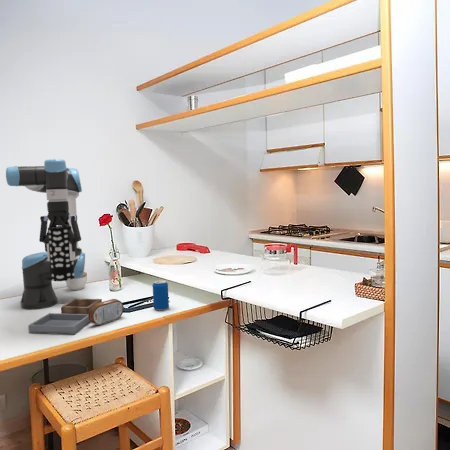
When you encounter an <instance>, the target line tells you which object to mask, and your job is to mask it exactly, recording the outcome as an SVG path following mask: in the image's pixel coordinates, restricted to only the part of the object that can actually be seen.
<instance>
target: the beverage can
mask: <svg viewBox="0 0 450 450" xmlns="http://www.w3.org/2000/svg"><path fill="white" fill-rule="evenodd" d="M152 283H153V284H152V299H153V300H152V302H153V309H154V310H155V311H158V312H161V311H166V310H167V309H169V307H170V304H169V299H170V298H169V283H168V281H167V280H165V279H158V280H157V279H156V280H153V282H152Z"/></svg>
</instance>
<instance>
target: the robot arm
mask: <svg viewBox="0 0 450 450" xmlns="http://www.w3.org/2000/svg"><path fill="white" fill-rule="evenodd" d="M5 178H6V184H7V185H8V186H10V187H25V188H26V189H27V190H30V191H32V192H37V193H42V194H43V193H44V194H46V200H47V203H46V207H47V209H46V211H47V212H48V213H47V215H42V216H40V218H39V219H40V230H39V231H40V232H39V242H40V243H42V244H43V243H44V251H42V252H36V253H32V254H31V253H30V254H29V255H26V256H24V257H23V258H22V259H21V270H22V277H23V279H22V281H23V292H22V297H21V299H20V307H21V308H22V309H24V310H25V309H26V310H40V309H45V308H49V307H52V306H54V305H57V303H58V297H57V296H58V295H56V292H55V290H54V288H53V284H52V283H53V281H52V280H51V267H50V253H49V240H48V227H49V228H52V227H56V226H62V227H70V226H71V230H68V237H69V239H70V241H71V243H70V244H69V250H70V261H73V263H74V279H76V278H81V277H82V276H83V274H84V272H85V266H86V253H85V252H83V249H82V248H81V247H80V246H79V242H81V240H82V237H81V232H80V229H79V225H78V214H77V200H76V199H77V198H78V197H79V196H80V193H82V191H83V189H82V183H81V178H80V174H79V170H78V169H77V168H71V167H70V168H69V167H67V164H66V160H64V159H60V158H58V159H57V158H54V159H53V158H52V159H46V160H44V165H43V166H42V165H38V166H37V165H35V166H34V165H33V166H17V165H15V166H7V167H6V169H5ZM48 221H50V222H49V225H48Z"/></svg>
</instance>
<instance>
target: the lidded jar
mask: <svg viewBox="0 0 450 450" xmlns="http://www.w3.org/2000/svg"><path fill="white" fill-rule="evenodd" d="M87 274H88V273H87V272H86V271H84V274H83V276H82V277H81V278H76V279H71V280H67V281H65V284H66V286H67V288H68V289H70V290H71V291H79V290H80V289H81V290H82V289H84V287H85V286H86V284H87V281H88V275H87Z"/></svg>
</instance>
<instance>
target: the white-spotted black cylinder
mask: <svg viewBox="0 0 450 450" xmlns="http://www.w3.org/2000/svg"><path fill="white" fill-rule="evenodd" d="M68 230H71V226H70V227H62V226H58V225H57V226H56V227H52V228H49V226H47V232H48V240H49V253H50V267H51V280H52V282H66V281H67V280H71V279H74V263H73V261H70V250H69V244H70V243H71V241H70V239H69V237H68Z"/></svg>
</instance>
